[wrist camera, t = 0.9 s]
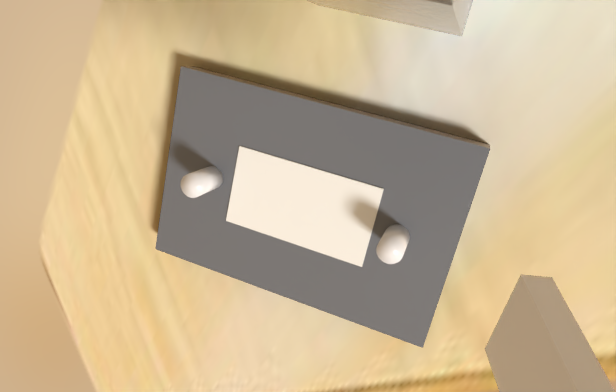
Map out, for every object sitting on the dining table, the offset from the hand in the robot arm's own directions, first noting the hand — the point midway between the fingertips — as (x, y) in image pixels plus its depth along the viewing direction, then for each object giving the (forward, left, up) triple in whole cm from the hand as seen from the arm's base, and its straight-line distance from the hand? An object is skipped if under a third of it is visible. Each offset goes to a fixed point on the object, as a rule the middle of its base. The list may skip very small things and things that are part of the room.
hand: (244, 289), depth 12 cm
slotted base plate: (+3, -3, -18) cm, 19 cm away
